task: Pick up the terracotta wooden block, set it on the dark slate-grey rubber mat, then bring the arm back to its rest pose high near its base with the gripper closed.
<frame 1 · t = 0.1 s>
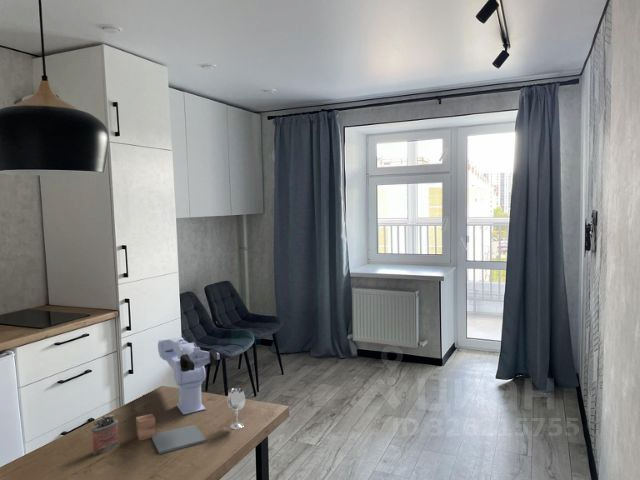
hand: (205, 364, 156), 22 cm above the table, tool horizontal, fingers open, 7 cm apart
wineglass: (237, 426, 160), on the table
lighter: (106, 449, 146), on the table
mat: (178, 439, 151), on the table
block: (146, 436, 154), on the table
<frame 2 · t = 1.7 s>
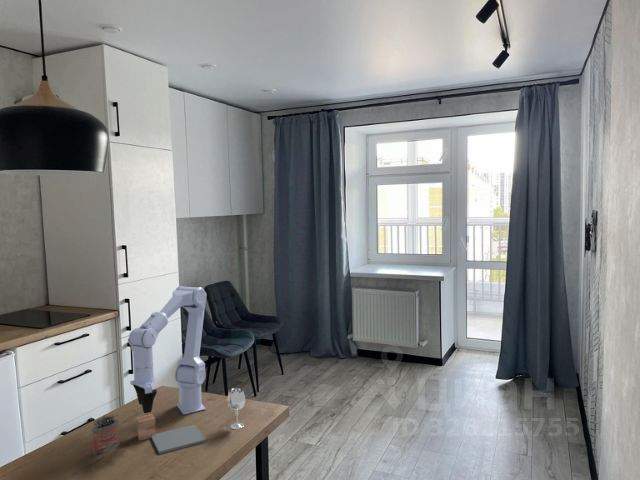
hand: (145, 408, 153), 9 cm above the table, tool pointing down, fingers open, 7 cm apart
nothing on the table moved.
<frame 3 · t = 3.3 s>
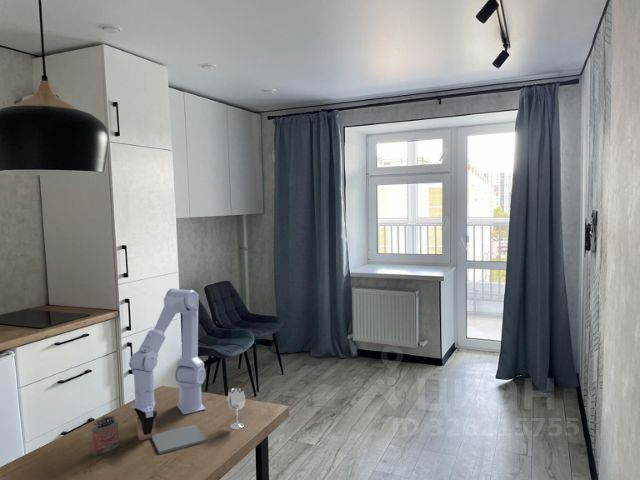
hand: (146, 431, 154), 2 cm above the table, tool pointing down, fingers closed on block, 4 cm apart
block: (146, 435, 154), on the table, touching gripper, mat
everything else where it was.
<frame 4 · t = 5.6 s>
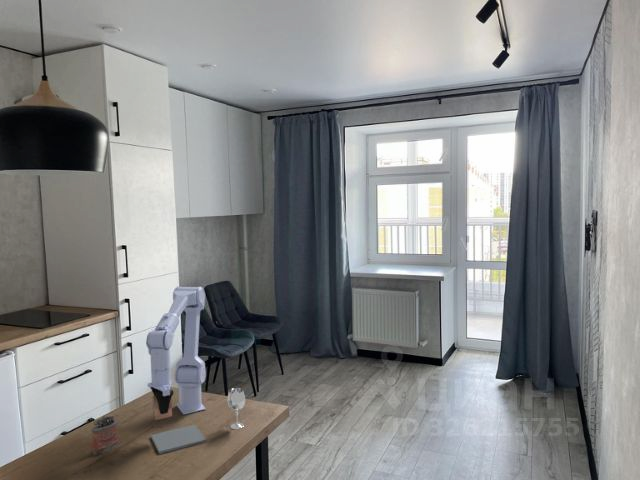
hand: (162, 410, 152), 9 cm above the table, tool pointing down, fingers closed on block, 4 cm apart
block: (162, 415, 152), point 7 cm above the table, touching gripper
everything else where it was.
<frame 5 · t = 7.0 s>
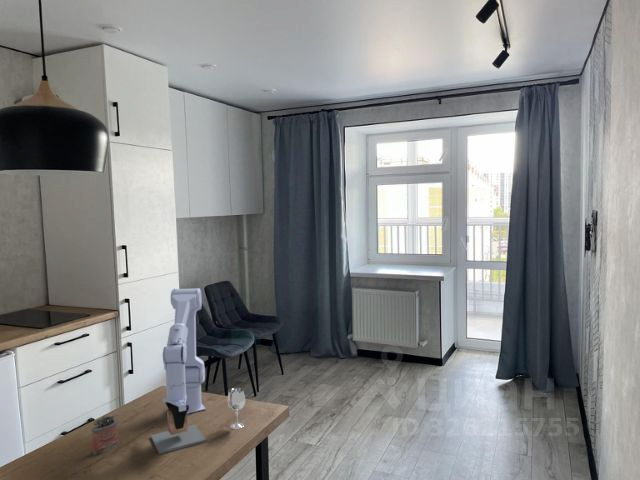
hand: (177, 425, 151), 5 cm above the table, tool pointing down, fingers closed on block, 4 cm apart
block: (177, 430, 151), point 3 cm above the table, touching gripper
everything else where it was.
when the fingers open (3 cm above the table, at t = 8.1 s): block stays where it is, resting on mat.
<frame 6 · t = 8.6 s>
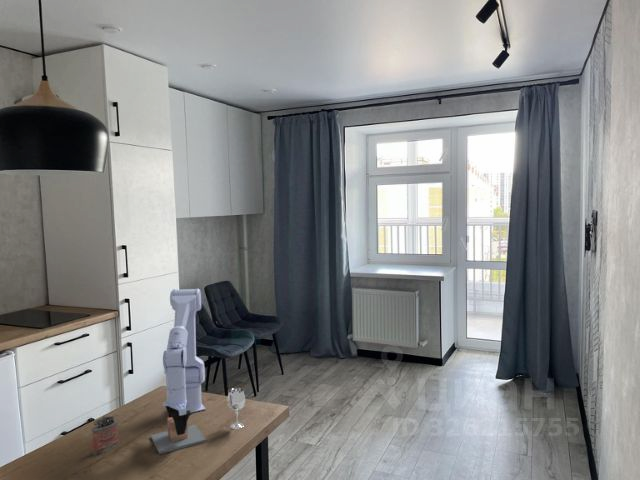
hand: (177, 429, 151), 3 cm above the table, tool pointing down, fingers open, 7 cm apart
block: (177, 437, 151), point 1 cm above the table, touching mat
everything else where it was.
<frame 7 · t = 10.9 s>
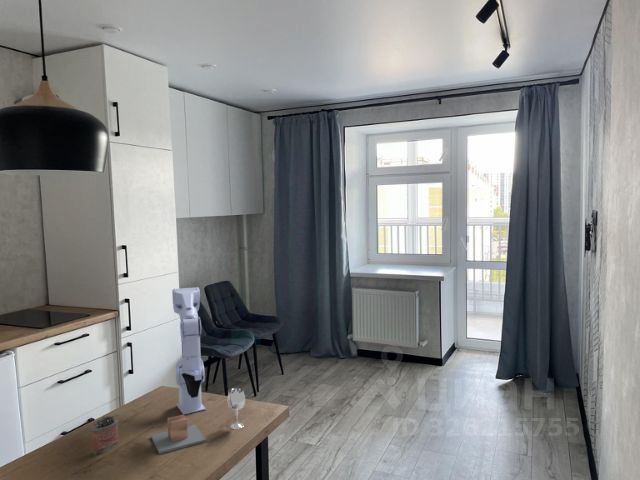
hand: (193, 395, 159), 10 cm above the table, tool pointing down, fingers closed
nothing on the table moved.
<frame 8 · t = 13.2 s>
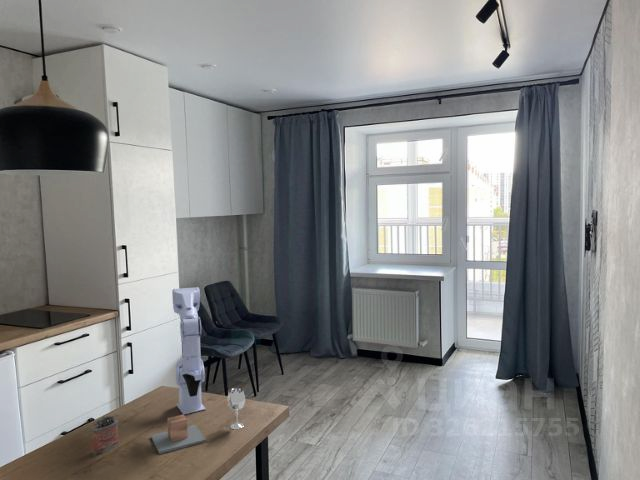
hand: (193, 395, 159), 10 cm above the table, tool pointing down, fingers closed
nothing on the table moved.
at the end: block inside the target area on the mat (0.0 cm from its centre), point 0.8 cm above the mat's base; block tilted 0°; the gripper is holding nothing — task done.
